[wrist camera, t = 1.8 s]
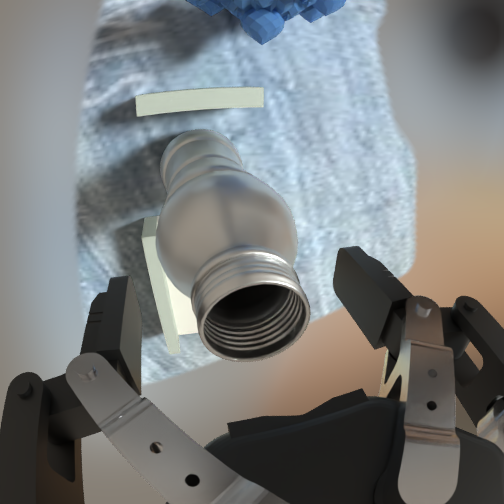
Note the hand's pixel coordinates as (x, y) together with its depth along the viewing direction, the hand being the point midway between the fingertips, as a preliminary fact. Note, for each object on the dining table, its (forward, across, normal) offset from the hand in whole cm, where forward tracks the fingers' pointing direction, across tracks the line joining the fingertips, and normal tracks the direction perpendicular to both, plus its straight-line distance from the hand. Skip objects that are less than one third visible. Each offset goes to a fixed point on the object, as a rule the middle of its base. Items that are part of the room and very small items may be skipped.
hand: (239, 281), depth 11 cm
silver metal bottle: (+18, 0, 0) cm, 18 cm away
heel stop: (+18, 0, -6) cm, 18 cm away
